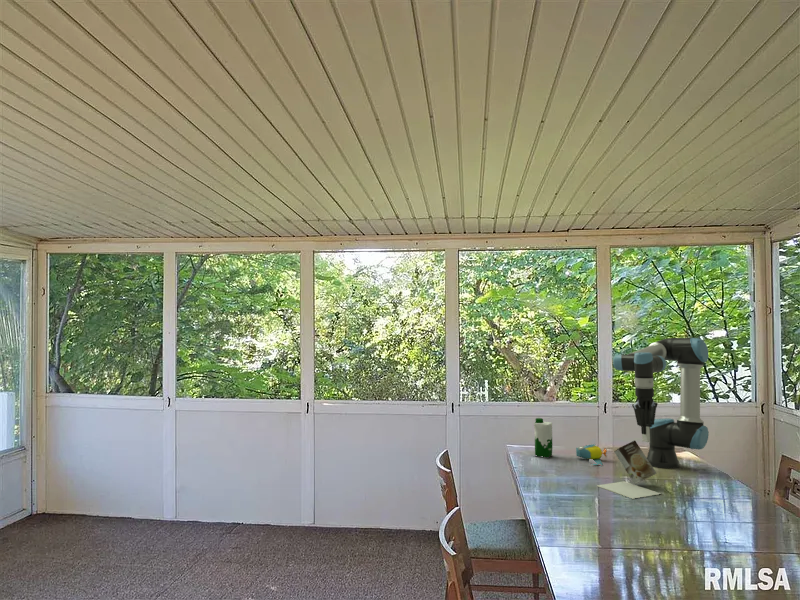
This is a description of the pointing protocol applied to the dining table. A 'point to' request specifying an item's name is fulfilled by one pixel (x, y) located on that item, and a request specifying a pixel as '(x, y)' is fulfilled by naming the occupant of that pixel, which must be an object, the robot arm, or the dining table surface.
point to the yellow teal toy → (591, 453)
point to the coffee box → (635, 462)
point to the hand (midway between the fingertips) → (646, 441)
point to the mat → (628, 489)
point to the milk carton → (543, 438)
